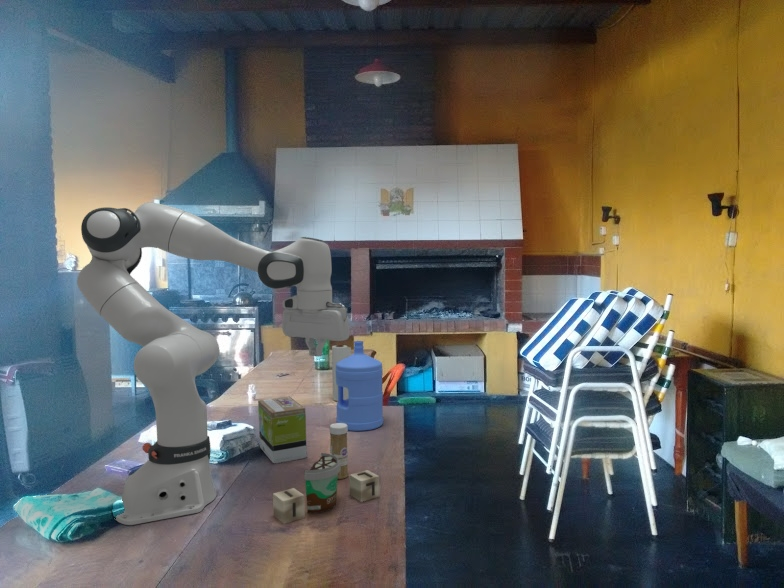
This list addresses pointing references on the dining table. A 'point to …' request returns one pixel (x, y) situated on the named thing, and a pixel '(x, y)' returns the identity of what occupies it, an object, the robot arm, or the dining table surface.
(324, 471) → the food container
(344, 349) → the paper towel roll
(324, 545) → the dining table surface
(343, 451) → the sprinkles bottle
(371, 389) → the water jug
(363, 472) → the numbered block seven
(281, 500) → the numbered block one
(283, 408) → the tea box
